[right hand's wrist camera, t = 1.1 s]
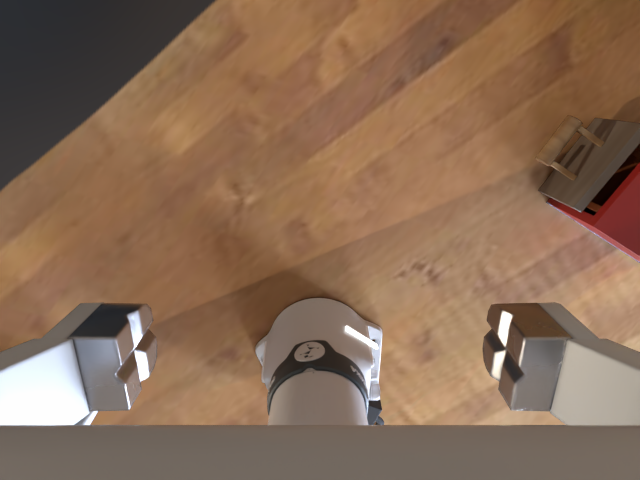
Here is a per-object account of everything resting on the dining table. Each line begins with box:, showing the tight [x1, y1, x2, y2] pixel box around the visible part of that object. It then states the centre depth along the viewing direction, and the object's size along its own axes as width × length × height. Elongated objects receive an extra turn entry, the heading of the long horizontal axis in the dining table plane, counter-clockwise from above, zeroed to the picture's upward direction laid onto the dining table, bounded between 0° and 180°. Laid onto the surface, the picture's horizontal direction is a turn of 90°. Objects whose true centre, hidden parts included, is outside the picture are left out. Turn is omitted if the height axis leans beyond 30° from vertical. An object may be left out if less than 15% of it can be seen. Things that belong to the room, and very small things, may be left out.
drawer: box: [535, 116, 640, 216], centre depth 49 cm, size 21×10×8 cm, turn 59°
